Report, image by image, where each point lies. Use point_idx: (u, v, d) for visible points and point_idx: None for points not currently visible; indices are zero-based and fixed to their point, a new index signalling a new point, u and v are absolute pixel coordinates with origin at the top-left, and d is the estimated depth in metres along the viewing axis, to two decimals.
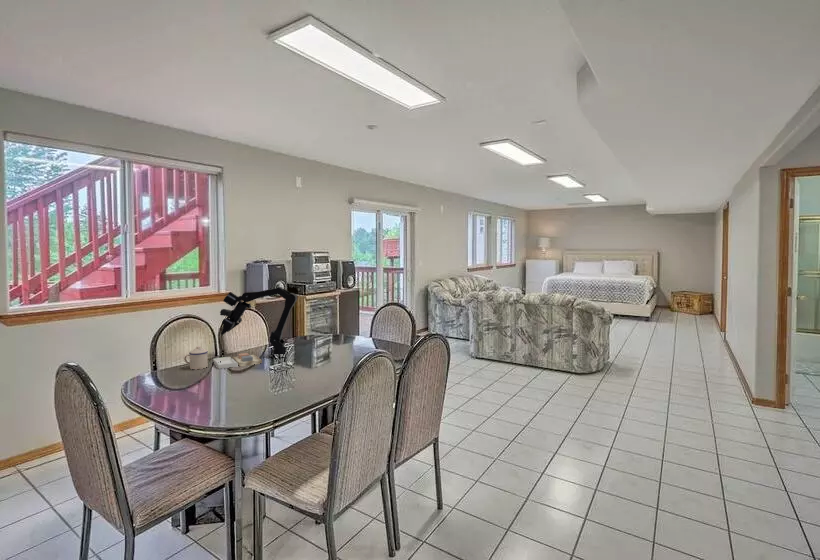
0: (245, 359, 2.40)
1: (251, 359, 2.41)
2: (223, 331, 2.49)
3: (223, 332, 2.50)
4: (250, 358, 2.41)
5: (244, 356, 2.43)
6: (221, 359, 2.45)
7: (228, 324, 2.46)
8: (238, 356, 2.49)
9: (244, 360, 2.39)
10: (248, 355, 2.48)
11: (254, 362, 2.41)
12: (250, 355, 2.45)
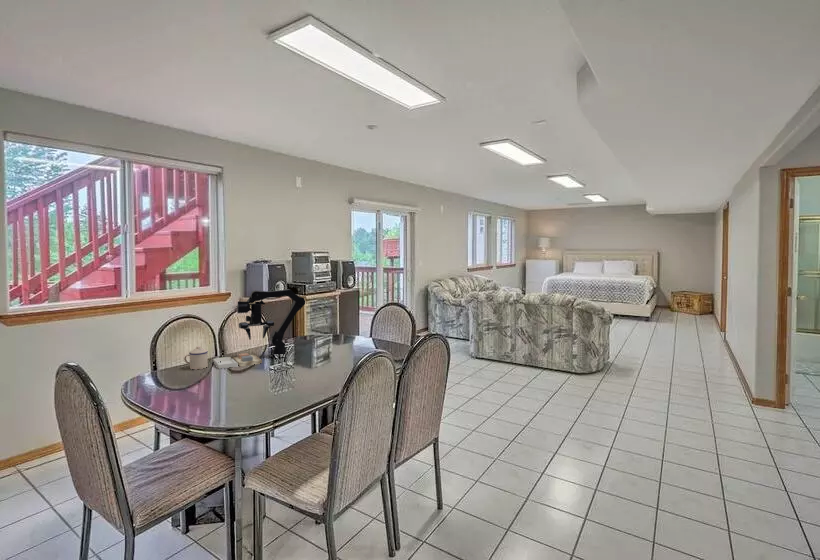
0: (245, 359, 2.40)
1: (251, 359, 2.41)
2: (248, 336, 2.49)
3: None
4: (250, 358, 2.41)
5: (244, 356, 2.43)
6: (221, 359, 2.45)
7: (240, 326, 2.46)
8: (238, 356, 2.49)
9: (244, 360, 2.39)
10: (248, 355, 2.48)
11: (254, 362, 2.41)
12: (250, 355, 2.45)
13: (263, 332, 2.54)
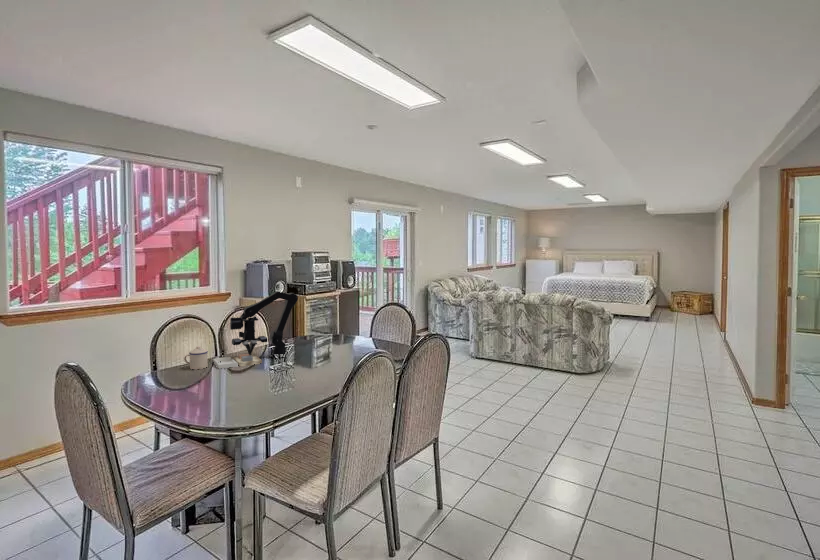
0: (245, 359, 2.40)
1: (251, 359, 2.41)
2: None
3: (248, 352, 2.49)
4: (250, 358, 2.41)
5: (244, 356, 2.43)
6: (221, 359, 2.45)
7: (232, 343, 2.44)
8: (238, 356, 2.49)
9: (244, 360, 2.39)
10: (248, 355, 2.48)
11: (254, 362, 2.41)
12: (250, 355, 2.45)
13: None
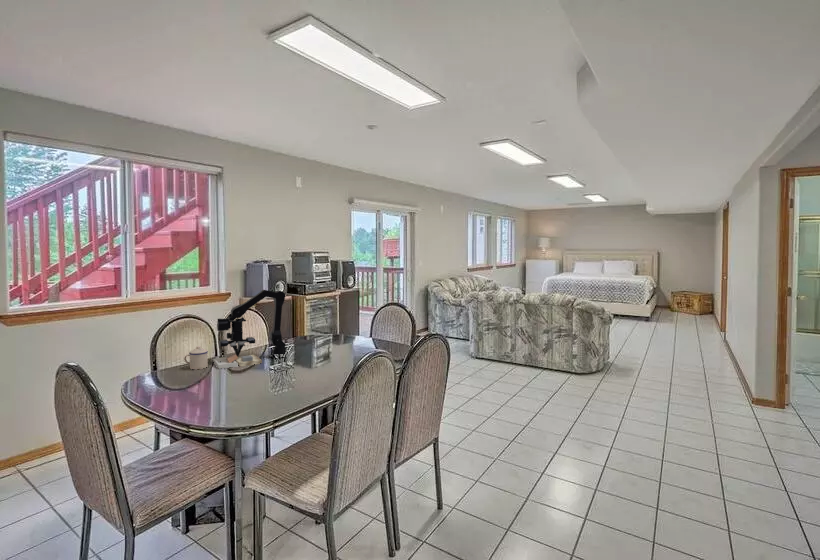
0: (245, 359, 2.40)
1: (251, 359, 2.41)
2: (235, 353, 2.46)
3: (236, 354, 2.46)
4: (250, 358, 2.41)
5: (244, 356, 2.43)
6: (221, 359, 2.45)
7: (219, 344, 2.40)
8: (227, 360, 2.45)
9: (244, 360, 2.39)
10: (236, 356, 2.43)
11: (254, 362, 2.41)
12: (250, 355, 2.45)
13: None
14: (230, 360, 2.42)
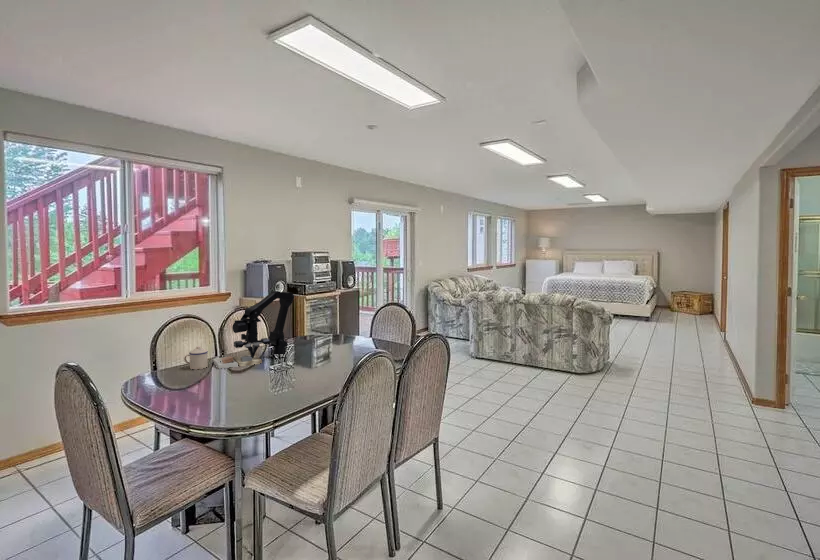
0: (244, 360, 2.39)
1: (250, 359, 2.41)
2: (250, 354, 2.43)
3: (251, 355, 2.43)
4: (249, 358, 2.41)
5: (243, 356, 2.43)
6: (221, 359, 2.45)
7: (235, 345, 2.37)
8: (222, 361, 2.44)
9: (243, 360, 2.39)
10: (232, 358, 2.42)
11: (254, 362, 2.41)
12: (249, 355, 2.45)
13: None
14: (225, 361, 2.40)
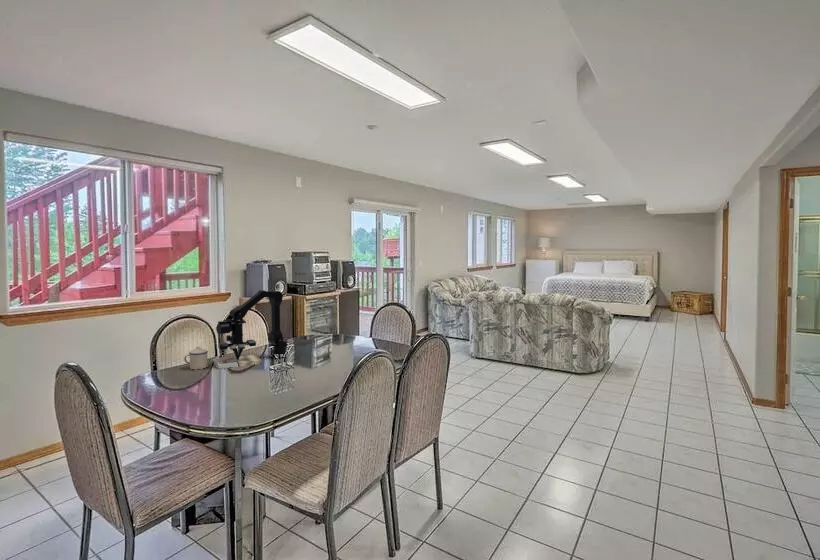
0: None
1: None
2: None
3: (236, 357, 2.39)
4: (234, 361, 2.37)
5: (228, 360, 2.39)
6: (221, 359, 2.45)
7: (219, 347, 2.33)
8: (222, 361, 2.44)
9: None
10: None
11: (254, 362, 2.41)
12: None
13: None
14: (225, 361, 2.40)
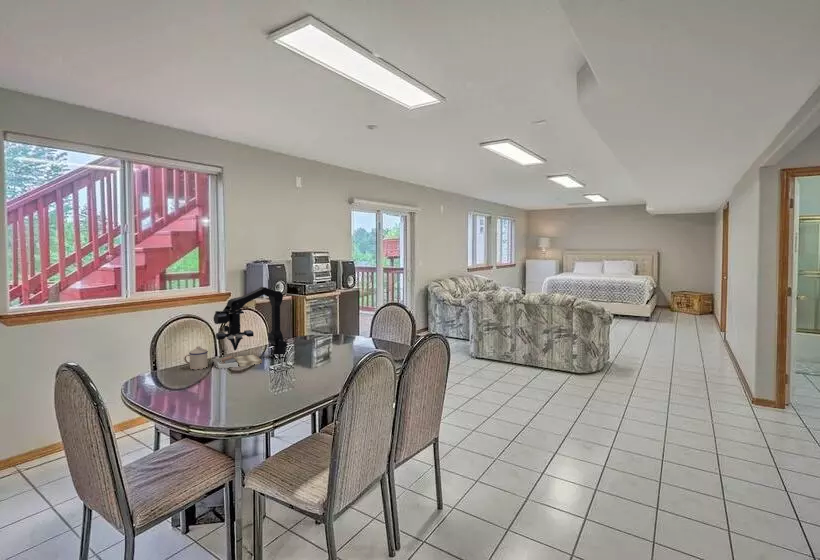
0: None
1: None
2: (233, 346, 2.38)
3: (233, 347, 2.37)
4: (233, 361, 2.37)
5: (227, 360, 2.38)
6: (221, 359, 2.45)
7: (216, 337, 2.32)
8: (222, 361, 2.44)
9: None
10: None
11: (254, 362, 2.41)
12: (233, 358, 2.41)
13: (235, 344, 2.39)
14: None
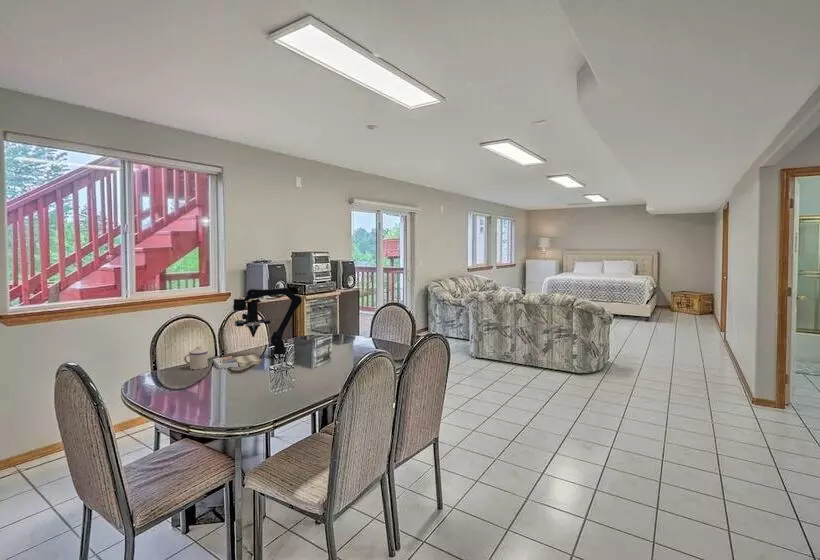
0: None
1: None
2: (251, 333, 2.53)
3: (251, 334, 2.52)
4: (233, 361, 2.37)
5: (227, 360, 2.38)
6: (221, 359, 2.45)
7: (236, 324, 2.47)
8: (222, 361, 2.44)
9: None
10: None
11: (254, 362, 2.41)
12: (233, 358, 2.41)
13: (253, 331, 2.53)
14: None
